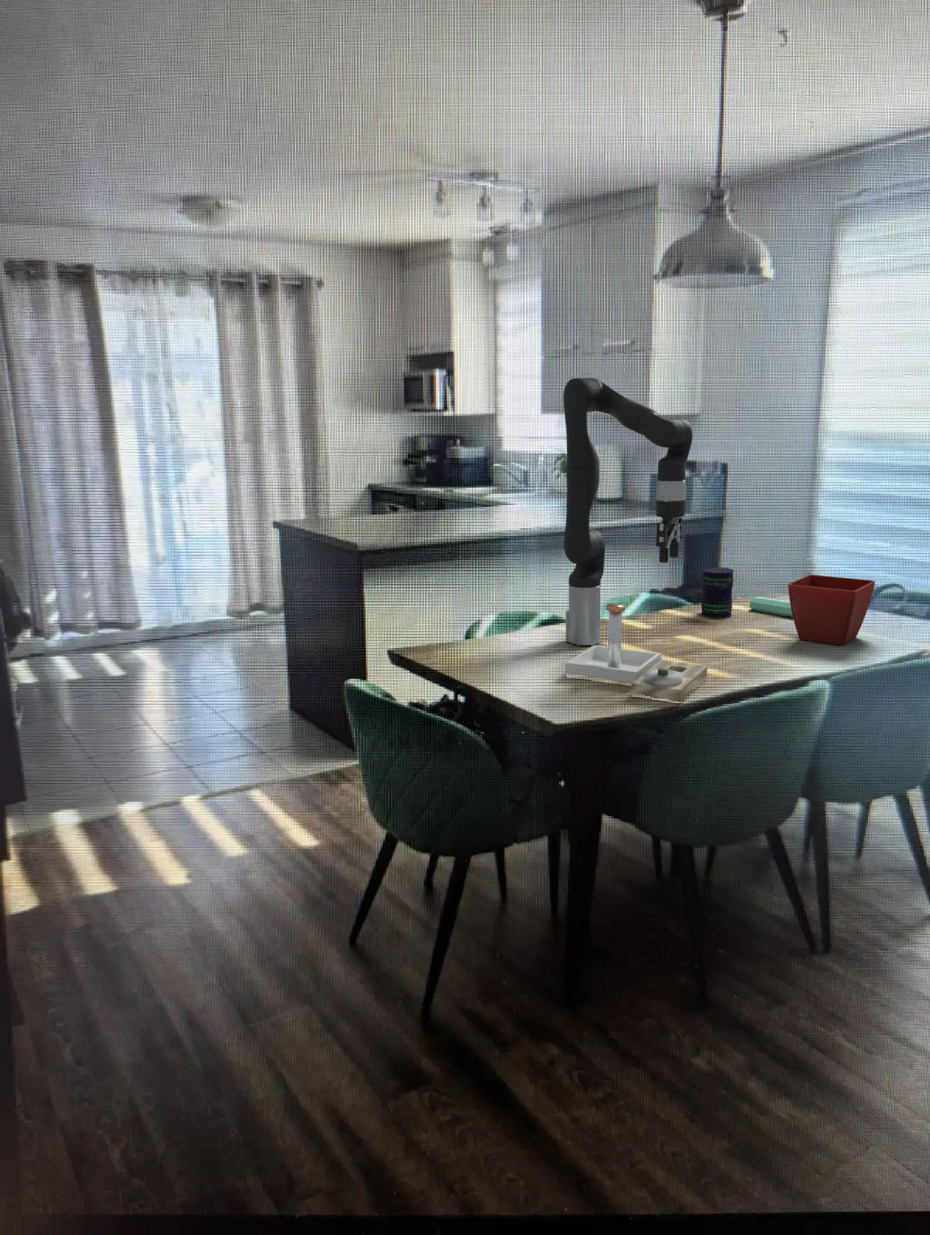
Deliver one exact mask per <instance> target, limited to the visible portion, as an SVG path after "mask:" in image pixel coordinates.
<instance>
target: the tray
mask: <svg viewBox="0 0 930 1235" xmlns="http://www.w3.org/2000/svg"><path fill="white" fill-rule="evenodd" d="M661 660H662V653H660V652H653V651H645V650H637V649H628V648H627V649H626V648H621V669H618V668H611V667H608V646H602V645H597V644H596V645H591V647H589V648H587V649H586V650H584V651H583V652H581V653H579V654H577V655H576V656H574V657H572V658H571V659H569V660H567V661H565V674H566V673H569V674H577V675H583V676H587V677H598V678H603V679H607V680H612V681H619V682H623V683H630V684H632V682H634V681H635V680H636V679H638V678H639V677H640V676H641V675H643V674H644V672H646V671H648V670H649V669H651V668H652V667H653V666H654V665H656V664H657V663H658V662H660V661H661Z"/></svg>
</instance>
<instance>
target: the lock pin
mask: <svg viewBox="0 0 930 1235" xmlns="http://www.w3.org/2000/svg"><path fill="white" fill-rule="evenodd" d="M605 610H606V611H608V628H607V629H608V635H607V636H608V637H607V639H608V640H607V643H608V644H607V647H608V667H611V668H618V669H621V649H622V642H623V641H622V638H623V637H622V635H623V630H622V629H623V612H624V611H626V605H625V604H623V603H618V602H617V603H614V602H613V603H608V604H606V606H605Z"/></svg>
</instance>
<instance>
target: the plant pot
mask: <svg viewBox="0 0 930 1235" xmlns="http://www.w3.org/2000/svg"><path fill="white" fill-rule="evenodd" d="M875 585H876V581H875V580H871V579H863V578H851V577H841V576H832V575H831V576H830V575H818V574H817V575H816V574H808V575H805V576H803V577H801V578H799V579H796V580H794V581H791V582H790V583H788V584H787V588H788V589H787V590H788V597H789V601H790V605H791V611H792V615H793V617H792V619H793V623H794V627H795V630H796V633H797V636H798V639H799V640H803V641H808V642H809V641H810V642H817V643H825V644H831V645H839V646H843V645H845V644H848V643H849V642H850V641H852V640H854V639H855V638H857V636H858V634H859V632H860V629H861V628H862V625H863V623H864V621H865V618H866V615H867V613H868V609H869V606H870V604H871V600H872V598H873V597H872V596H873V592H874V589H875Z"/></svg>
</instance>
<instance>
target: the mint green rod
mask: <svg viewBox="0 0 930 1235" xmlns="http://www.w3.org/2000/svg"><path fill="white" fill-rule="evenodd" d="M749 608H750V609H751V610H752V611H754V612H759V613H760V612H761V613H766V614H770V613H771V615H777V616H783V617H787V616H790V617H789V618H793V615H792V611H791V605H790V600H789V601H788V600H782V599H775V598H768V597H763V596H755V597H752V598H751V599H750V601H749Z"/></svg>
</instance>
